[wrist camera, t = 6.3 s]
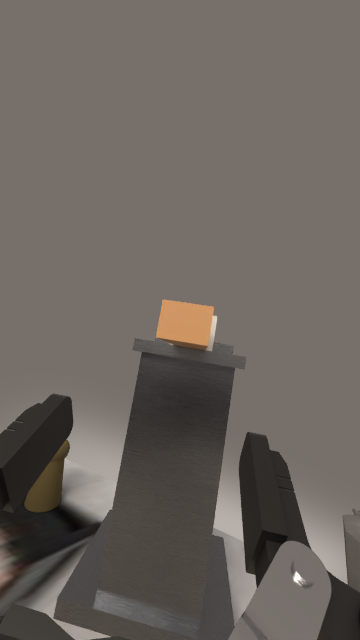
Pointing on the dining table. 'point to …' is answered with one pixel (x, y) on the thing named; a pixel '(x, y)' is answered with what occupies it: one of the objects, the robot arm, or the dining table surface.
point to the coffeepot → (352, 548)
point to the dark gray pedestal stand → (163, 508)
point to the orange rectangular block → (187, 325)
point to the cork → (48, 484)
